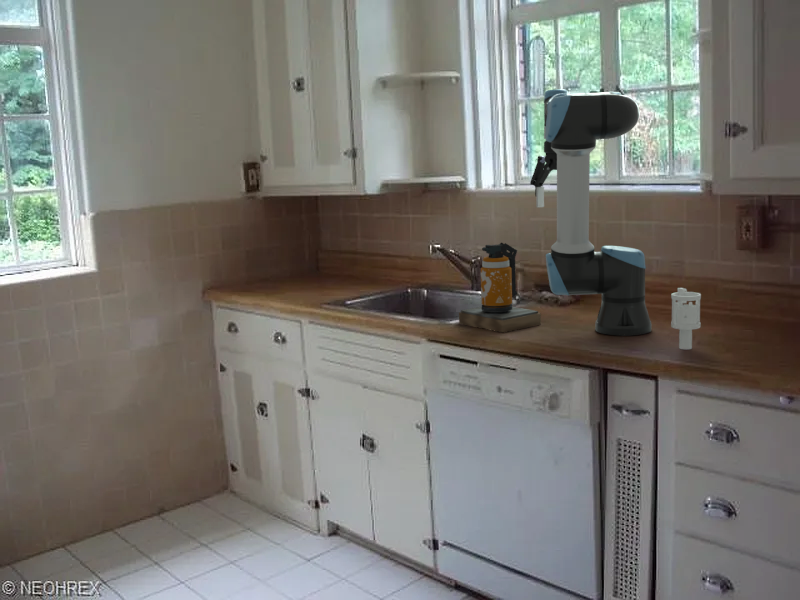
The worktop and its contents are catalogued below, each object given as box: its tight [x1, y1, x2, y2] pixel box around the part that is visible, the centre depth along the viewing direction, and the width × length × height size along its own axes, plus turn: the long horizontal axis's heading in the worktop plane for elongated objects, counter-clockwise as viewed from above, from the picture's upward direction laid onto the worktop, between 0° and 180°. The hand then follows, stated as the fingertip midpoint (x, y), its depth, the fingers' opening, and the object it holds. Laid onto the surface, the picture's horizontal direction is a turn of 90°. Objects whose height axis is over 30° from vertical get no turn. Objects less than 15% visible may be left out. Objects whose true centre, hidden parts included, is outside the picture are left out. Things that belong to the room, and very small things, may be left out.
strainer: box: [670, 287, 702, 351], centre depth 233 cm, size 7×7×15 cm
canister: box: [480, 242, 518, 313], centre depth 270 cm, size 9×11×20 cm
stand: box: [458, 306, 542, 333], centre depth 273 cm, size 19×15×4 cm
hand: (555, 208), depth 295 cm, fingers open, 13 cm apart
